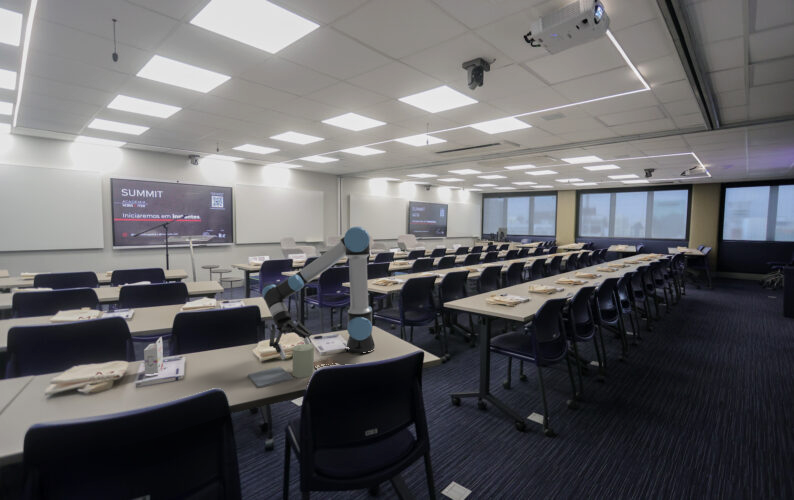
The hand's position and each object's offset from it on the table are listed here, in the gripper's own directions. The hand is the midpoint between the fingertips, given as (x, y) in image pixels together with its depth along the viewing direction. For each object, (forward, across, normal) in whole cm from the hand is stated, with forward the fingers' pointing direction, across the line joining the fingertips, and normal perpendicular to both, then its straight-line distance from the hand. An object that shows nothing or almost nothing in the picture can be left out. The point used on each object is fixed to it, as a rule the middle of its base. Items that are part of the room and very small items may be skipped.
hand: (298, 354), depth 152 cm
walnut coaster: (+7, -13, -4) cm, 15 cm away
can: (+8, -1, -4) cm, 9 cm away
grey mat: (+3, +11, -8) cm, 14 cm away
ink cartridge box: (-25, +43, -37) cm, 62 cm away
